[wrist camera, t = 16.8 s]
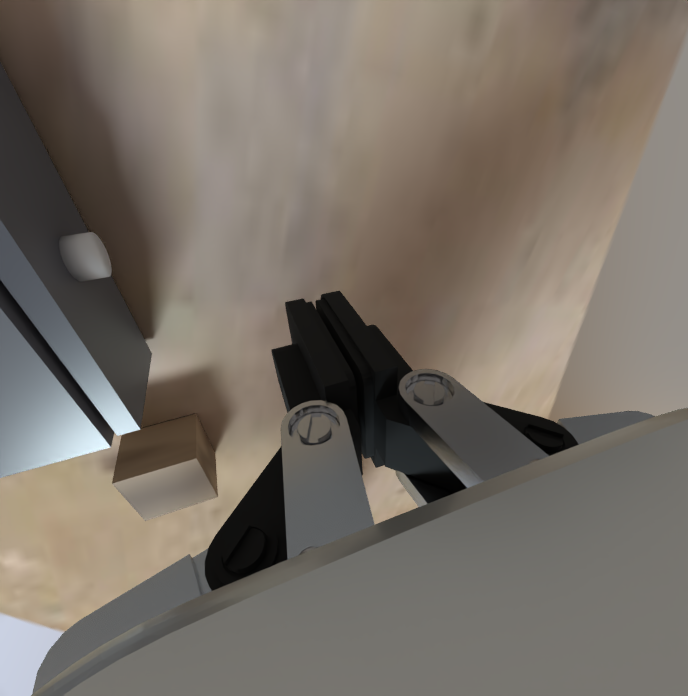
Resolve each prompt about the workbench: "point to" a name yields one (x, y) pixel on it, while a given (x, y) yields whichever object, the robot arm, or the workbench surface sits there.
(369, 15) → the workbench surface
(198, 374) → the workbench surface
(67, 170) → the workbench surface
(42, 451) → the box
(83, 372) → the grey drawer
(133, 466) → the brown block
